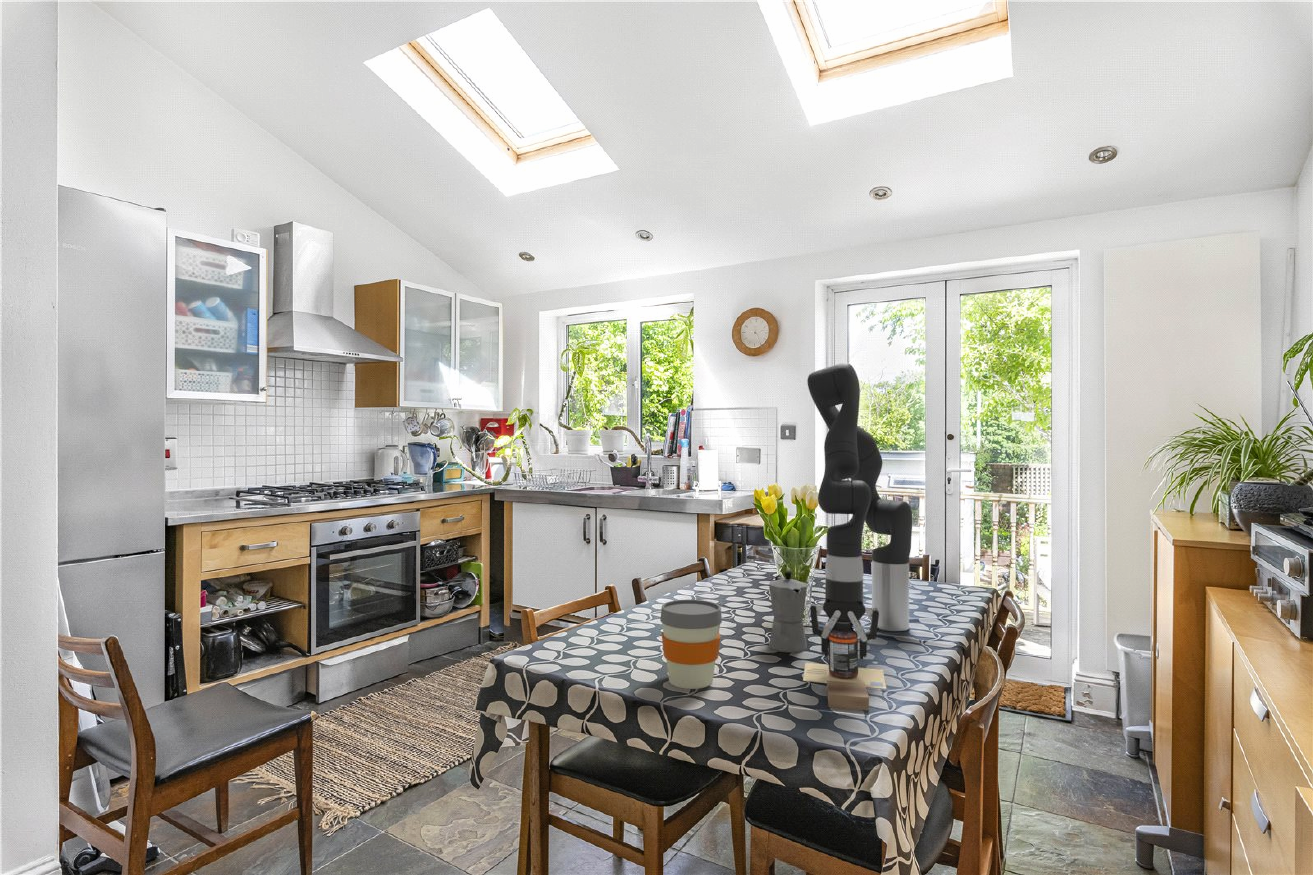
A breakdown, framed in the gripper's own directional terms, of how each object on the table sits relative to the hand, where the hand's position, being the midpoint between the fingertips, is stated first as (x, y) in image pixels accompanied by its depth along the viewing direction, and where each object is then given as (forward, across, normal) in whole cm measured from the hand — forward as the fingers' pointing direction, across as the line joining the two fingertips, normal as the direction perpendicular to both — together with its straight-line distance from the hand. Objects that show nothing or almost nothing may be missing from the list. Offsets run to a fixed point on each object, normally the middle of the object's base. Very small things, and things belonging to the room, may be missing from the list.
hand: (843, 656), depth 136 cm
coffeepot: (+4, -13, +17) cm, 22 cm away
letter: (+4, 0, 0) cm, 4 cm away
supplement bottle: (+4, 0, 0) cm, 4 cm away
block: (+4, 0, -14) cm, 15 cm away
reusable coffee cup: (+4, -30, -11) cm, 32 cm away
